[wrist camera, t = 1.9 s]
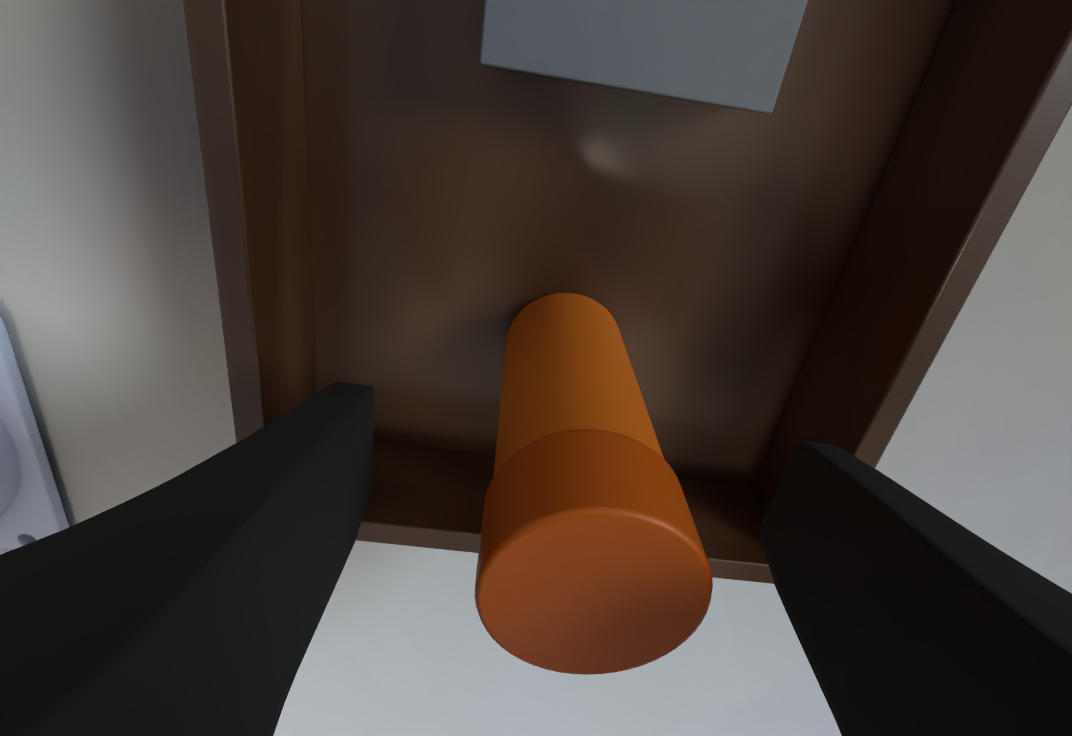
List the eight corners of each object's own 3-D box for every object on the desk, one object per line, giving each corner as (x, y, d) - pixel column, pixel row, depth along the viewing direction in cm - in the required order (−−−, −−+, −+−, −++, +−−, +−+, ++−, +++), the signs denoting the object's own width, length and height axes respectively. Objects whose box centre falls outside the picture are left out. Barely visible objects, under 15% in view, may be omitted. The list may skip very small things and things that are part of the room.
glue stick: (495, 390, 14) (463, 667, 8) (510, 278, 13) (487, 497, 6) (610, 404, 14) (678, 686, 8) (637, 296, 13) (747, 526, 6)
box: (303, 438, 15) (245, 529, 12) (259, -380, 8) (102, -643, 5) (758, 491, 16) (811, 588, 13) (1056, -200, 9) (1312, -335, 6)
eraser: (487, 66, 11) (478, 64, 9) (503, -103, 10) (496, -145, 8) (734, 108, 11) (773, 114, 9) (779, -50, 10) (833, -77, 8)
